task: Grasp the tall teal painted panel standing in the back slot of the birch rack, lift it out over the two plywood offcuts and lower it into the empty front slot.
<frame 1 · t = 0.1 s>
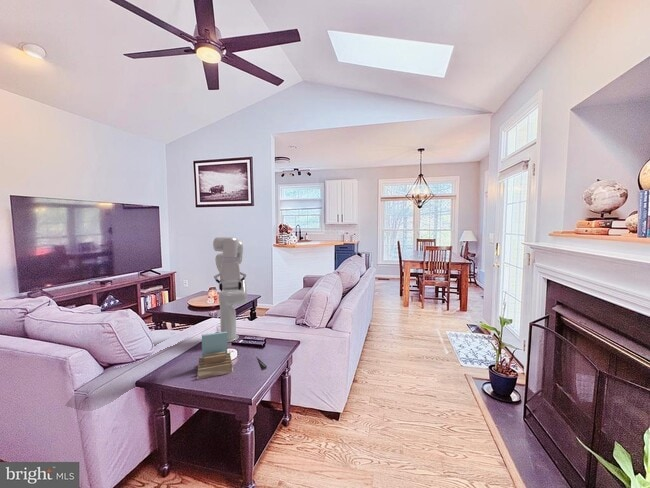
hand: (230, 290, 156), 37 cm above the table, tool pointing down, fingers open, 9 cm apart
phone: (254, 365, 145), on the table
offcut front: (215, 369, 137), point 1 cm above the table, touching rack
tall sheet: (215, 364, 143), point 1 cm above the table, touching rack
offcut back: (215, 367, 140), point 1 cm above the table, touching rack
rack: (215, 370, 138), on the table
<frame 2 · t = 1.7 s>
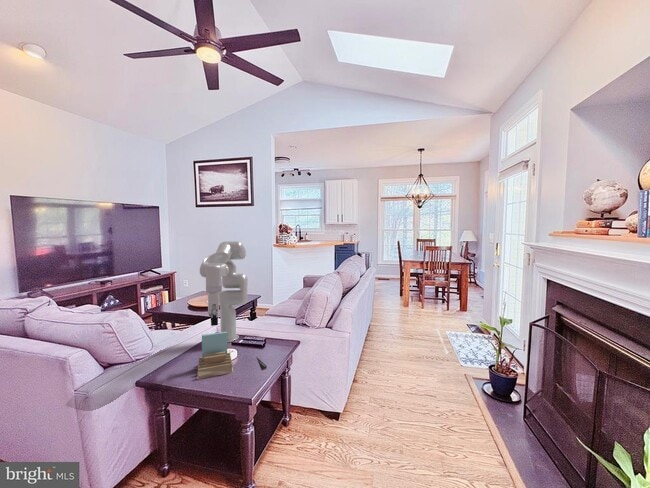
hand: (214, 322, 141), 23 cm above the table, tool pointing down, fingers open, 9 cm apart
nothing on the table moved.
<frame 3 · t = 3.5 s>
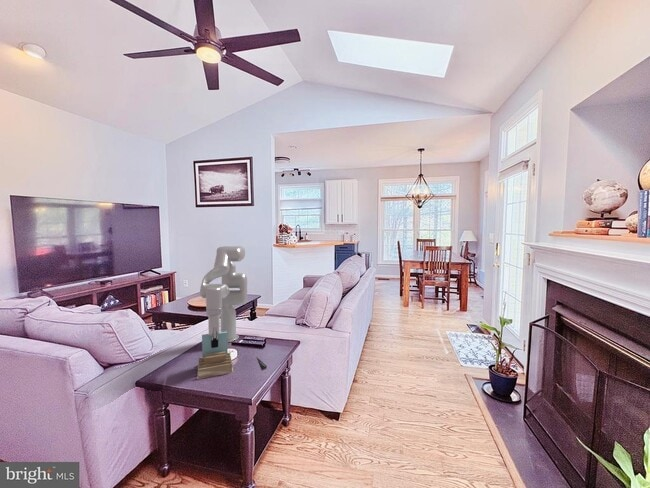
hand: (214, 346, 142), 11 cm above the table, tool pointing down, fingers closed on tall sheet, 1 cm apart
tall sheet: (215, 364, 143), point 1 cm above the table, touching gripper
everything else where it was.
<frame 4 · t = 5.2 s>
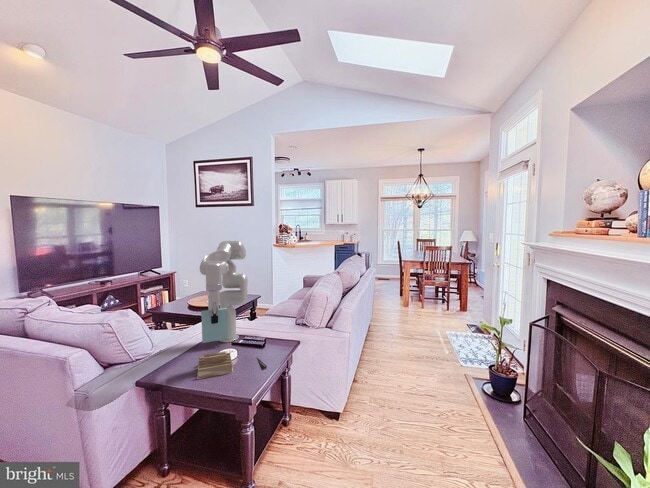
hand: (214, 322, 142), 23 cm above the table, tool pointing down, fingers closed on tall sheet, 1 cm apart
tall sheet: (215, 340, 143), point 14 cm above the table, touching gripper
everything else where it was.
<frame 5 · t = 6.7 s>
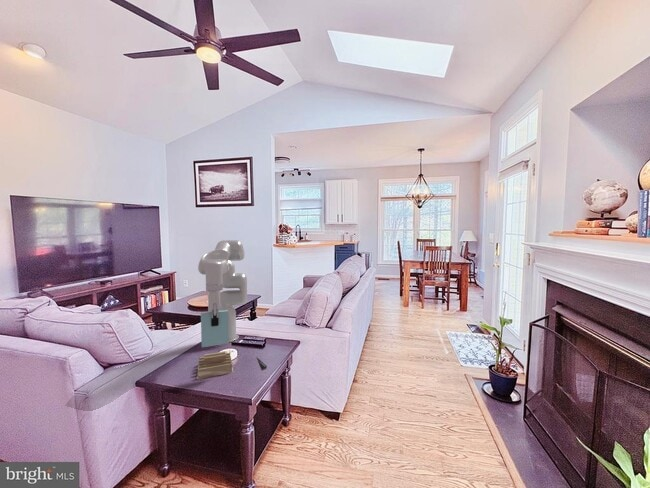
hand: (214, 325, 133), 25 cm above the table, tool pointing down, fingers closed on tall sheet, 1 cm apart
tall sheet: (215, 344, 133), point 15 cm above the table, touching gripper
everything else where it was.
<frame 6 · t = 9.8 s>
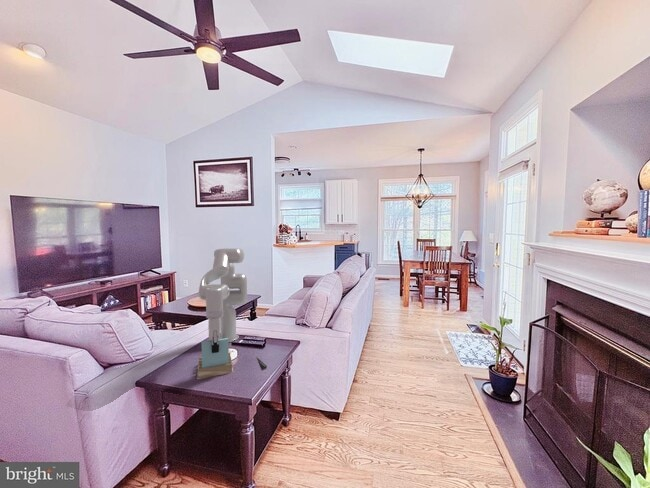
hand: (215, 350, 133), 12 cm above the table, tool pointing down, fingers closed
tall sheet: (215, 372, 134), point 1 cm above the table, touching rack
everything else where it was.
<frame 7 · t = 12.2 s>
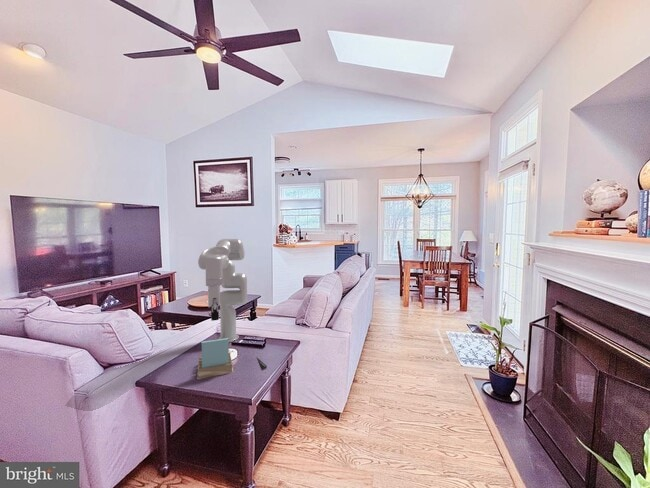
hand: (214, 317, 133), 28 cm above the table, tool pointing down, fingers open, 9 cm apart
nothing on the table moved.
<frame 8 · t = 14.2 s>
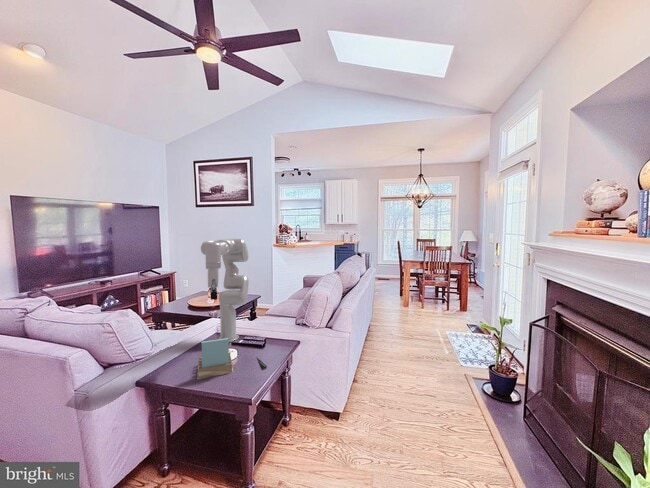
hand: (213, 297, 149), 34 cm above the table, tool pointing down, fingers open, 9 cm apart
nothing on the table moved.
at the end: tall sheet 0.1 cm from the target spot on the rack, point 1.2 cm above the rack's base; tall sheet tilted 0°; offcut front moved 0.0 cm from its start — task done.
